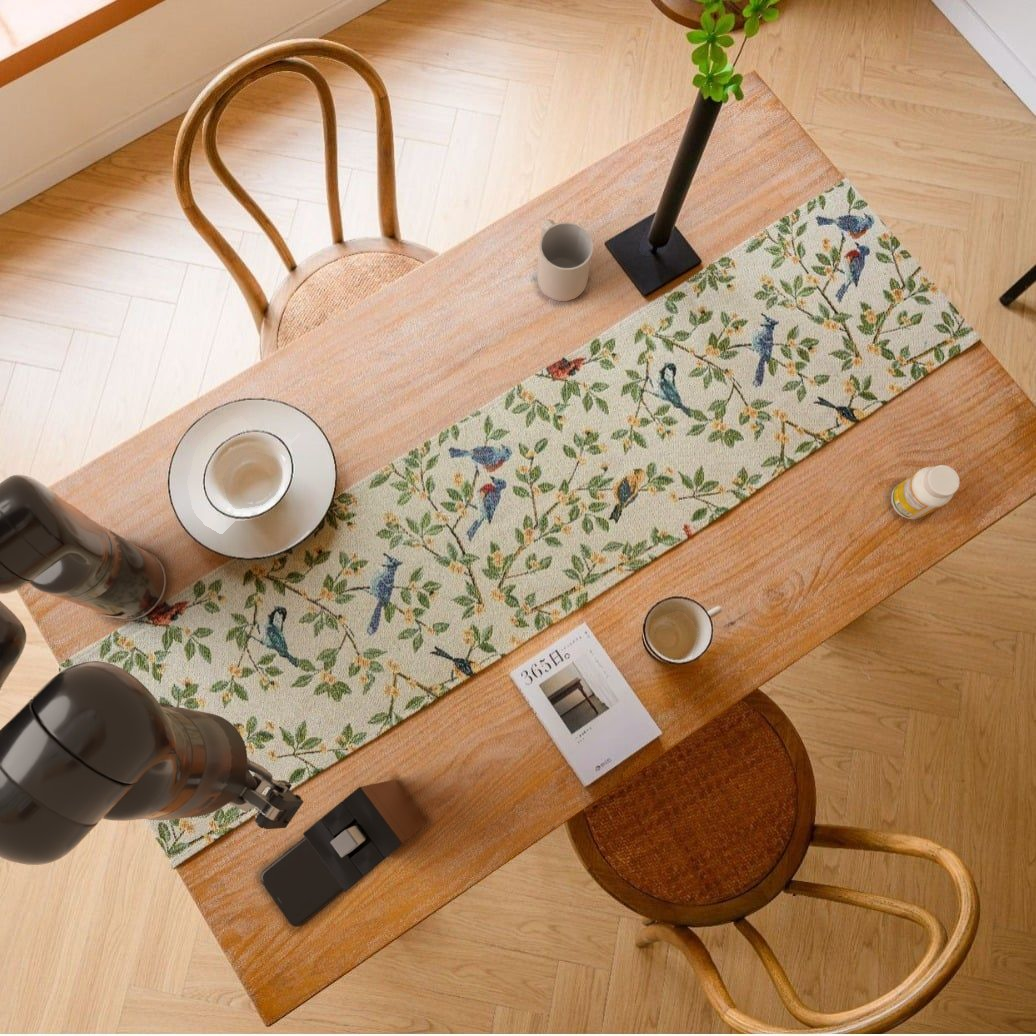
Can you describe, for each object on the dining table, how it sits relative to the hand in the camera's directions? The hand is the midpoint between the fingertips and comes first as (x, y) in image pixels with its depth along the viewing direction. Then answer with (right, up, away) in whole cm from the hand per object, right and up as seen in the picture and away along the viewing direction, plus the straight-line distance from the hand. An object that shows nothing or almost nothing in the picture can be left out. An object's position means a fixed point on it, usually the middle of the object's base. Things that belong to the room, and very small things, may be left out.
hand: (242, 765), depth 80 cm
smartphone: (+2, -19, +31) cm, 36 cm away
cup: (+30, +57, +51) cm, 82 cm away
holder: (+9, -15, +31) cm, 36 cm away
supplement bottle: (+77, +24, +43) cm, 91 cm away
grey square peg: (+9, -8, +7) cm, 14 cm away
